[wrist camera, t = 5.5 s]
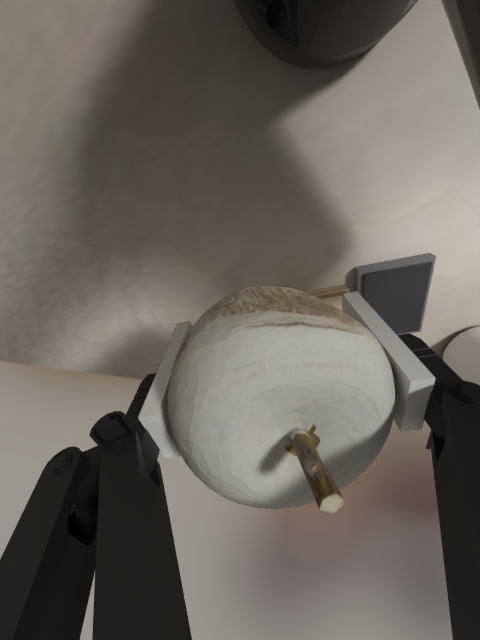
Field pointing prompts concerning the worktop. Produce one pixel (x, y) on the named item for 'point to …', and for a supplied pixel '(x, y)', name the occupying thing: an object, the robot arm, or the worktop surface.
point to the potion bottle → (465, 355)
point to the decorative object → (280, 399)
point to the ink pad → (397, 290)
